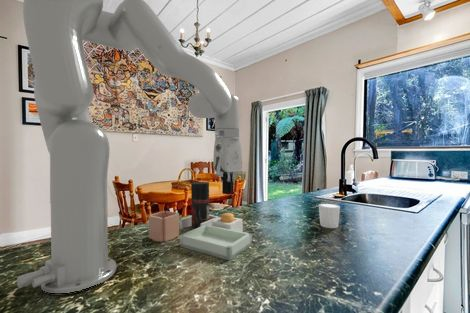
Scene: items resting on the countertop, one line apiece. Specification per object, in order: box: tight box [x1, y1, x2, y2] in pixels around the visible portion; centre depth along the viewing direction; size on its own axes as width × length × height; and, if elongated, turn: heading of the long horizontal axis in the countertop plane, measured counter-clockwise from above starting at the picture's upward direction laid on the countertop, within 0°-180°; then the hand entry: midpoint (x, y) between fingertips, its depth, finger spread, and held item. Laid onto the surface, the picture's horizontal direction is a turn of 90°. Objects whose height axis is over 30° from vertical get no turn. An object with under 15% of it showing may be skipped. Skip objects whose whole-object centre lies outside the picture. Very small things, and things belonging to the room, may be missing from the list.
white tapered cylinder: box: [318, 203, 341, 229], centre depth 79 cm, size 7×7×7 cm
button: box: [220, 212, 235, 223], centre depth 72 cm, size 4×4×4 cm
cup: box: [148, 210, 180, 243], centre depth 69 cm, size 7×7×7 cm
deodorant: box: [190, 181, 210, 230], centre depth 78 cm, size 6×6×15 cm
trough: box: [179, 225, 253, 261], centre depth 62 cm, size 11×16×3 cm
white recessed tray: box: [179, 214, 244, 232], centre depth 76 cm, size 10×19×4 cm, turn 58°
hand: (228, 193), depth 72 cm, fingers closed
